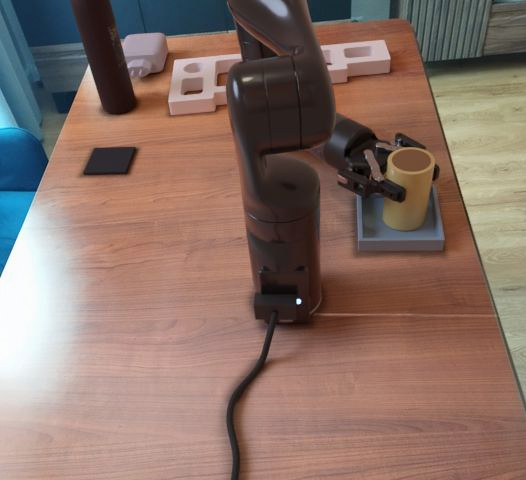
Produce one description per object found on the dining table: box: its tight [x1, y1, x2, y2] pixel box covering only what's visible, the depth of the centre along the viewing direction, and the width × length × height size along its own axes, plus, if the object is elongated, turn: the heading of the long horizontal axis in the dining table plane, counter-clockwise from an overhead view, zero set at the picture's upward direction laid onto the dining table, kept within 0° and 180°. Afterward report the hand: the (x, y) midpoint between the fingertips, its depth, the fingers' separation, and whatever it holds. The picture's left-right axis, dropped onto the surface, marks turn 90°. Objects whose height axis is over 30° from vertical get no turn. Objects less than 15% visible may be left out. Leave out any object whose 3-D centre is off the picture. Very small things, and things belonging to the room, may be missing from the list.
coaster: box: [82, 146, 137, 176], centre depth 108 cm, size 8×8×1 cm
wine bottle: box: [69, 0, 137, 115], centre depth 109 cm, size 7×7×30 cm
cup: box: [382, 147, 436, 231], centre depth 86 cm, size 7×7×10 cm
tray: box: [356, 183, 446, 252], centre depth 89 cm, size 13×12×3 cm
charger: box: [122, 32, 169, 78], centre depth 128 cm, size 5×9×15 cm
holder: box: [167, 39, 391, 116], centre depth 120 cm, size 45×18×3 cm, turn 91°
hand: (421, 185), depth 84 cm, fingers closed on cup, 6 cm apart
